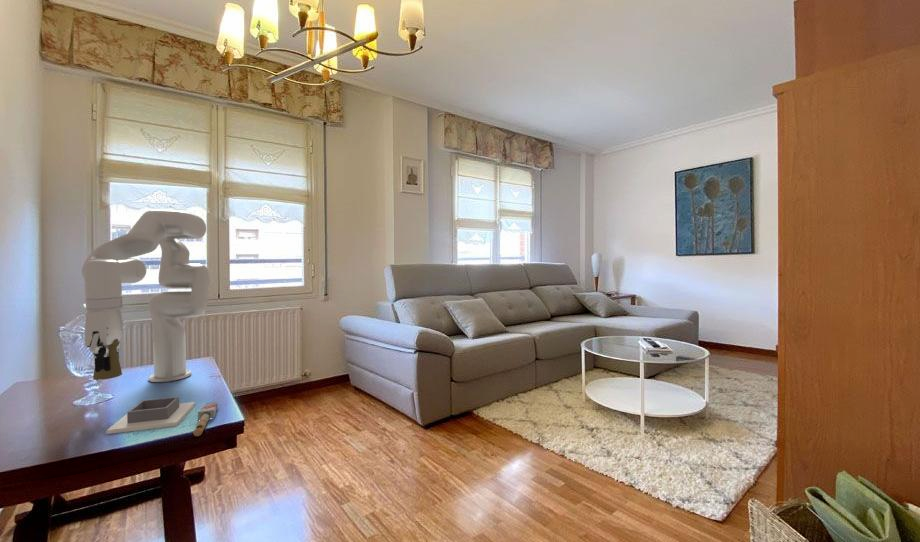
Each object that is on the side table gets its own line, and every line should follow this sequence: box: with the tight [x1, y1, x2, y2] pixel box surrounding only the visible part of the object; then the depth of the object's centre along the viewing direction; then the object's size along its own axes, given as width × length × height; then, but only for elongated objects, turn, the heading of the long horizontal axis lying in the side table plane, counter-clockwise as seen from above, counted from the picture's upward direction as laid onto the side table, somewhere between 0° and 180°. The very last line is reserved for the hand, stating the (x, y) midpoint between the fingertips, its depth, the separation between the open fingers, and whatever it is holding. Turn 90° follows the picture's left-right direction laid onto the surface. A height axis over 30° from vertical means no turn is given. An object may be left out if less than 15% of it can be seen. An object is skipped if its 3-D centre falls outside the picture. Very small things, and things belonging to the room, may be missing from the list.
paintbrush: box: [193, 401, 219, 437], centre depth 105 cm, size 4×3×20 cm
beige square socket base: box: [105, 396, 196, 435], centre depth 107 cm, size 15×15×4 cm
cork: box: [92, 339, 123, 381], centre depth 109 cm, size 6×6×11 cm
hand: (107, 367), depth 109 cm, fingers closed on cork, 4 cm apart
